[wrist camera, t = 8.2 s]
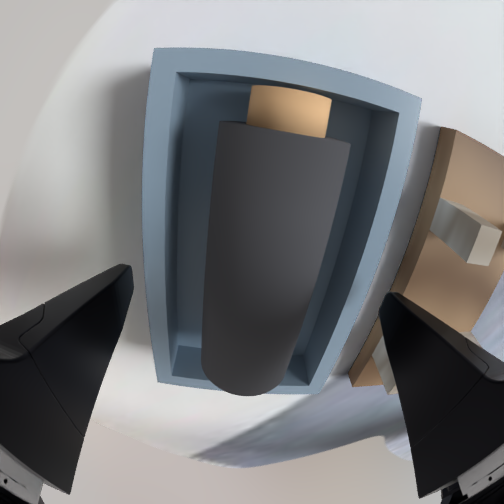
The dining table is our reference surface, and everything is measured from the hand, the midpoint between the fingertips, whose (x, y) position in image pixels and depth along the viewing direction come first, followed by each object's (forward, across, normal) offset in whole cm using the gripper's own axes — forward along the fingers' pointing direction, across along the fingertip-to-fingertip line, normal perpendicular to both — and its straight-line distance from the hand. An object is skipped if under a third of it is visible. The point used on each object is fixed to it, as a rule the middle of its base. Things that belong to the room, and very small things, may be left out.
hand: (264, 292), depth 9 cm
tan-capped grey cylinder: (+3, 0, 0) cm, 3 cm away
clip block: (+4, -12, +1) cm, 12 cm away
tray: (+4, 0, 0) cm, 4 cm away
